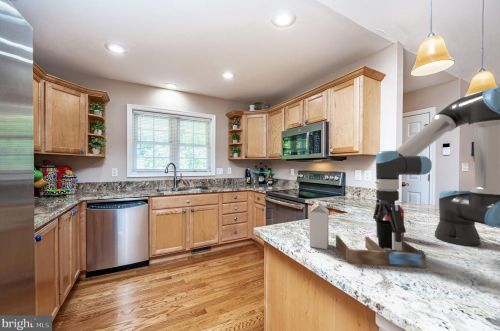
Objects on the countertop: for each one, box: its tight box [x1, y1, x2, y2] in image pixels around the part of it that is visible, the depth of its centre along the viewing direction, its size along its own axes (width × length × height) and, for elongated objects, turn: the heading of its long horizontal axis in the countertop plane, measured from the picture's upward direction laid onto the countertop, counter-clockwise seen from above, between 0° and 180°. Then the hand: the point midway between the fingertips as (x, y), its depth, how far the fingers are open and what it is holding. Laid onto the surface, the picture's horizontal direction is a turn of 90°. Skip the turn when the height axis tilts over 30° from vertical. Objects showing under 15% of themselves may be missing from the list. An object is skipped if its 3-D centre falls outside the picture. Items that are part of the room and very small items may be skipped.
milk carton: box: [309, 200, 330, 250], centre depth 90 cm, size 7×7×19 cm
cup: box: [375, 219, 398, 252], centre depth 83 cm, size 8×8×12 cm
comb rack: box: [335, 234, 427, 269], centre depth 80 cm, size 25×17×6 cm
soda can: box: [383, 205, 405, 239], centre depth 101 cm, size 8×8×15 cm
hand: (387, 243), depth 83 cm, fingers open, 13 cm apart
